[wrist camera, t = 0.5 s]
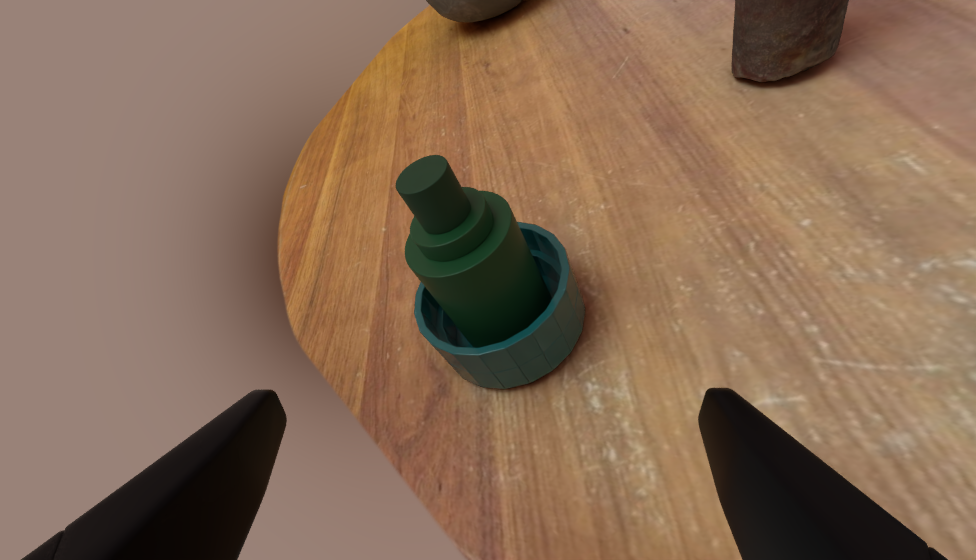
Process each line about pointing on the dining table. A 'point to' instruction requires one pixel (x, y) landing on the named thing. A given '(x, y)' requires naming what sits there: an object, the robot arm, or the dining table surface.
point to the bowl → (472, 8)
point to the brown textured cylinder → (784, 36)
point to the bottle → (470, 254)
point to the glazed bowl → (525, 350)
